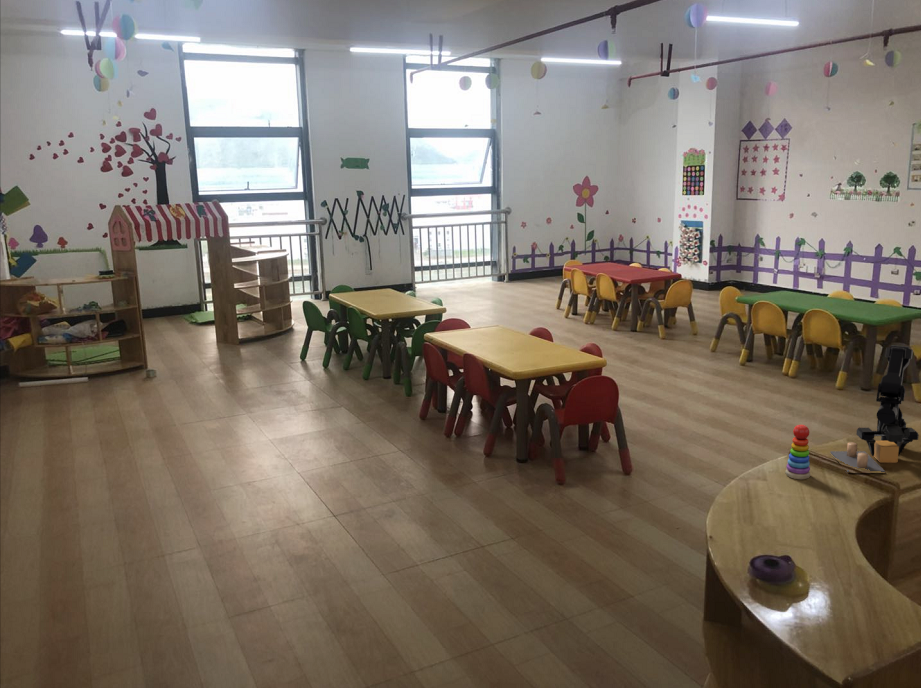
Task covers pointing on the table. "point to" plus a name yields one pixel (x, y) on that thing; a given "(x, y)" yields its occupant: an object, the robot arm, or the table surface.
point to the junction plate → (856, 458)
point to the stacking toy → (799, 454)
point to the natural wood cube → (886, 451)
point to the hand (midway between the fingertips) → (885, 456)
